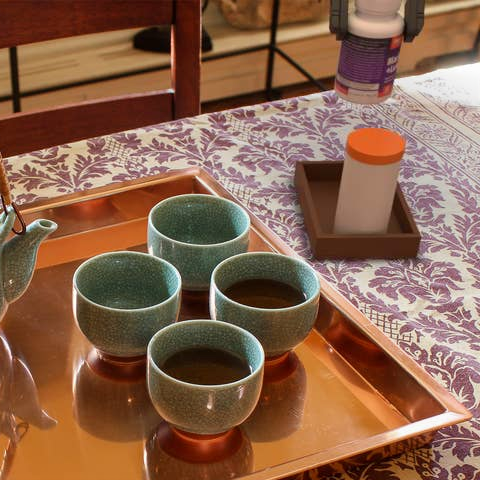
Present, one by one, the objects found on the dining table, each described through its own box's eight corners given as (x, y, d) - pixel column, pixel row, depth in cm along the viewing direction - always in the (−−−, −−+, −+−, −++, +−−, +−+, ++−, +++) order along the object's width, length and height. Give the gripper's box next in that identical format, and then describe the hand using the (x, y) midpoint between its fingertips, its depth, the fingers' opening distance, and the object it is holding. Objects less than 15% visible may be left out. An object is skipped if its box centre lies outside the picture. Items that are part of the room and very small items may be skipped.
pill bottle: (392, 108, 87) (412, 4, 80) (333, 104, 88) (348, 0, 81) (390, 82, 91) (409, -19, 84) (334, 78, 92) (348, -23, 85)
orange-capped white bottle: (380, 219, 93) (398, 127, 86) (391, 249, 89) (412, 155, 82) (327, 219, 93) (342, 127, 86) (336, 249, 89) (352, 155, 82)
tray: (293, 181, 99) (295, 160, 98) (385, 180, 99) (389, 159, 98) (313, 259, 89) (317, 237, 87) (416, 258, 89) (421, 236, 87)
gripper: (308, -172, 81) (299, 19, 81) (477, -171, 80) (470, 23, 79) (297, -123, 89) (289, 52, 88) (452, -121, 88) (446, 56, 87)
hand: (375, 37), depth 84 cm, fingers closed on pill bottle, 5 cm apart
